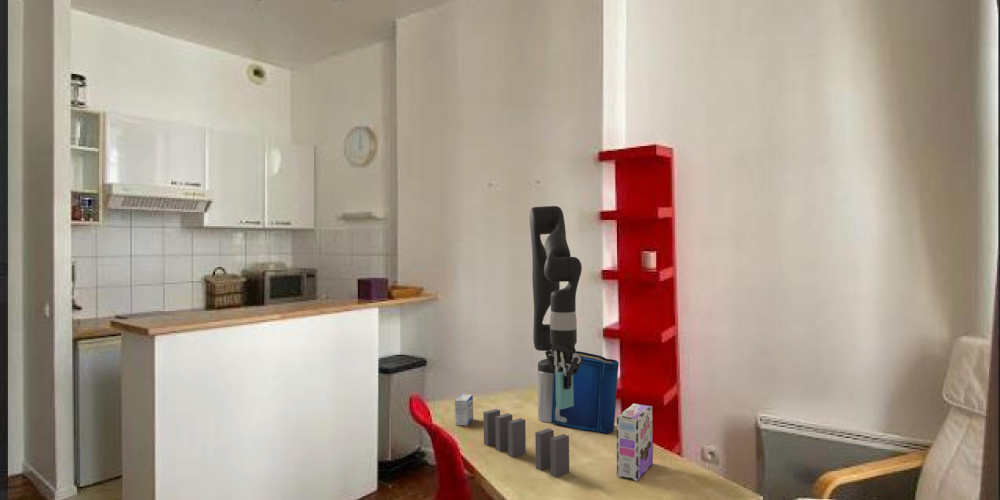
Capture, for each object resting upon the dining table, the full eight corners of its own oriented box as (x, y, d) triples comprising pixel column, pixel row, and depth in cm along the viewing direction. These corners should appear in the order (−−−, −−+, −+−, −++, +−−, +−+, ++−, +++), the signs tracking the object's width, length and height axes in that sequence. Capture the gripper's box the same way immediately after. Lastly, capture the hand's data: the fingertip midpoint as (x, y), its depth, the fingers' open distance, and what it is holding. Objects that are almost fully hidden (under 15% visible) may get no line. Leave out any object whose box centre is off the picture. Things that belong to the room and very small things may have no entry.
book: (618, 432, 186) (621, 357, 185) (610, 438, 180) (613, 361, 179) (559, 418, 197) (561, 348, 196) (550, 424, 191) (552, 351, 190)
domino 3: (521, 451, 167) (521, 418, 167) (525, 453, 166) (525, 419, 166) (508, 455, 164) (507, 421, 164) (512, 457, 163) (512, 423, 163)
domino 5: (568, 404, 162) (568, 370, 162) (573, 405, 161) (573, 371, 160) (556, 407, 159) (555, 372, 159) (561, 409, 158) (560, 374, 157)
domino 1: (496, 440, 177) (496, 408, 177) (500, 442, 175) (500, 410, 175) (483, 444, 174) (483, 411, 174) (487, 445, 172) (487, 413, 172)
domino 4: (549, 463, 158) (548, 428, 158) (553, 465, 156) (553, 430, 156) (535, 468, 155) (535, 432, 155) (540, 470, 153) (540, 434, 153)
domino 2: (508, 445, 172) (508, 413, 172) (512, 447, 171) (512, 414, 170) (495, 449, 169) (495, 416, 169) (499, 451, 168) (499, 418, 167)
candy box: (637, 482, 146) (637, 418, 145) (616, 477, 149) (615, 415, 148) (653, 463, 157) (653, 405, 157) (633, 459, 160) (632, 402, 160)
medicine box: (467, 426, 191) (467, 400, 191) (455, 425, 192) (454, 400, 192) (473, 418, 199) (473, 394, 198) (461, 418, 199) (460, 394, 199)
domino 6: (564, 470, 153) (563, 433, 153) (569, 472, 152) (568, 435, 152) (550, 475, 150) (550, 438, 150) (555, 477, 149) (555, 440, 149)
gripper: (590, 328, 156) (590, 390, 156) (556, 323, 167) (557, 381, 167) (570, 331, 151) (571, 395, 152) (537, 325, 162) (537, 385, 163)
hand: (563, 387), depth 160 cm, fingers closed on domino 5, 2 cm apart
